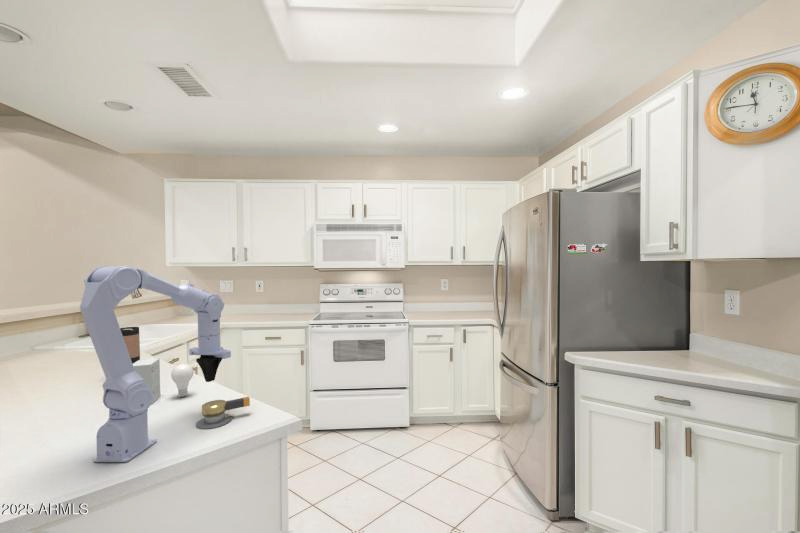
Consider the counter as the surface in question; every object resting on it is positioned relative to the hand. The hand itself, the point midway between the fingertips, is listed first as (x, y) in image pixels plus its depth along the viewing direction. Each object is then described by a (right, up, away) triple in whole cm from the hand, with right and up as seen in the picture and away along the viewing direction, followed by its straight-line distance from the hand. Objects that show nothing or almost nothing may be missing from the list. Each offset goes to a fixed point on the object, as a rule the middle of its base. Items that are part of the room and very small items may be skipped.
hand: (210, 380), depth 103 cm
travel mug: (-52, -11, +36) cm, 65 cm away
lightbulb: (-17, -10, +15) cm, 25 cm away
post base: (+4, -10, -5) cm, 12 cm away
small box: (-27, -11, +11) cm, 31 cm away
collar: (+7, -7, -4) cm, 10 cm away
